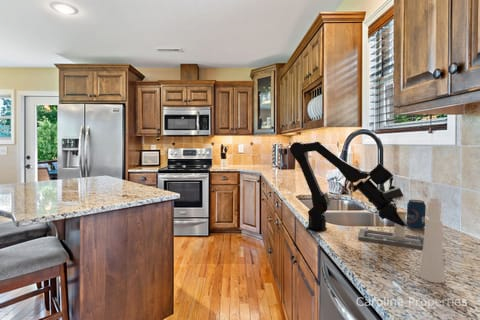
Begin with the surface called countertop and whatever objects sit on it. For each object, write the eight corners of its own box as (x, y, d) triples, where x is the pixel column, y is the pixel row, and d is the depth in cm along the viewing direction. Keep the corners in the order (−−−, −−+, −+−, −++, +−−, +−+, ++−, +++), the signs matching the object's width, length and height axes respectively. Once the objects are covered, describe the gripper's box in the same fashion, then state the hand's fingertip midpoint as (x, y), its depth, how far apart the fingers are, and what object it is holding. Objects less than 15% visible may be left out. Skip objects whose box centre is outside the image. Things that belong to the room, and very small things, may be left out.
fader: (392, 238, 103) (393, 211, 102) (392, 235, 106) (393, 209, 106) (406, 240, 101) (407, 212, 100) (405, 237, 104) (406, 210, 104)
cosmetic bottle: (413, 275, 76) (416, 196, 75) (427, 271, 78) (430, 195, 77) (436, 285, 70) (439, 200, 69) (450, 280, 73) (454, 199, 72)
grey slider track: (358, 239, 104) (358, 232, 104) (360, 231, 115) (360, 224, 115) (434, 251, 94) (434, 242, 93) (428, 240, 104) (428, 232, 104)
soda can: (402, 226, 123) (403, 200, 123) (412, 224, 126) (413, 198, 126) (418, 230, 117) (419, 202, 116) (428, 228, 120) (429, 201, 119)
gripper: (390, 182, 96) (426, 217, 91) (388, 177, 112) (418, 206, 108) (365, 202, 100) (398, 236, 95) (366, 194, 116) (395, 223, 112)
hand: (403, 224), depth 103 cm, fingers closed on fader, 3 cm apart
